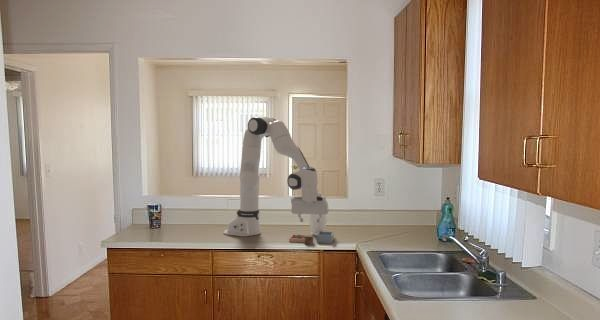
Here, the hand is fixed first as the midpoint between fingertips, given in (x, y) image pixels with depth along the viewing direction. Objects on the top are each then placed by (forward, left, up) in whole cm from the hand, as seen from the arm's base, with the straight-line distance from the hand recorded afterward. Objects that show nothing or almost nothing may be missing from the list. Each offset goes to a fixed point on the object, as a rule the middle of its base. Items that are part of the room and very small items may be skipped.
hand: (310, 222), depth 230 cm
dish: (-8, +6, -13) cm, 16 cm away
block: (-1, 0, -13) cm, 13 cm away
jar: (0, +24, -13) cm, 27 cm away
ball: (-8, +6, -12) cm, 15 cm away
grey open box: (+7, +7, -13) cm, 16 cm away
